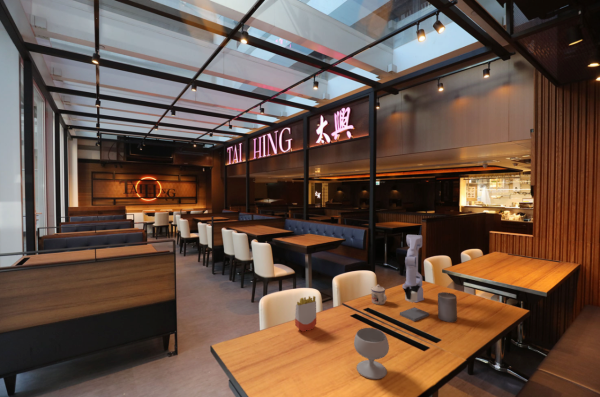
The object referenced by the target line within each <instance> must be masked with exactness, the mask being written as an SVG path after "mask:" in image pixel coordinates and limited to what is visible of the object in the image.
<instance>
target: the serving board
mask: <svg viewBox="0 0 600 397" xmlns="http://www.w3.org/2000/svg"><path fill="white" fill-rule="evenodd" d="M399 316H400V317H403V318H405V319H408V320H410V321H412V322H417V321H420V320H422V319H424V318H426V317H429V316H430V312H428V311H425V310H424V309H423V310H422V309H420V308H417V307H415V306H414V307H411V308H409V309H406V310H403V311H401V312H399Z"/></svg>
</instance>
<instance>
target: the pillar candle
mask: <svg viewBox="0 0 600 397" xmlns="http://www.w3.org/2000/svg"><path fill="white" fill-rule="evenodd" d="M457 297H458V296H457V295H455V294H454V293H451V292H448V291H447V292H446V291H445V292H443V291H442V292H438V293H437V310H438V311H437V316H438V317H437V318H438V319H439V320H441V321H444V322H447V323H456V322H457V321H458V305H457V304H458V302H457V300H458V299H457Z"/></svg>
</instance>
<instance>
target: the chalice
mask: <svg viewBox="0 0 600 397" xmlns="http://www.w3.org/2000/svg"><path fill="white" fill-rule="evenodd" d="M353 340H354V341H353V346H354V348H355V351H356V352H357V353H358V354H359V356H361V357H363V358H365V360H361V361H360V362H358V363H357V364H356V371H357V372H358V374H359V375H361V376H362V377H364V378H367V379H369V380H379V379H383V378H385V377H386V376H387V374H388V371H387V367H385V365H384V364H382V363H380V362H378V361H376V360H381V359H383V358H384V357H386V356H387V354H389V350H390V345H389V339H388V338H387V335H386V333H384V332H383V331H382V330H380V329H378V328H373V327H363V328H361V329H358V330H357V331H356V334H355V336H354V339H353Z"/></svg>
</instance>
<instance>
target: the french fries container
mask: <svg viewBox="0 0 600 397" xmlns="http://www.w3.org/2000/svg"><path fill="white" fill-rule="evenodd" d="M294 316H295V318H294V322H295V326H296V328H298V329H299V330H300V331H301V332H303V331H305V332H307V331H306V330H309V331H311V330H310V329H312V330H313V329H314V328H315V327H316V325H317V300H316V296H315V295H313V296H312V297H311V296H310V295H309V296H308V298H306V297H301V298H299V301H297V302H296V305H295V314H294Z"/></svg>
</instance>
